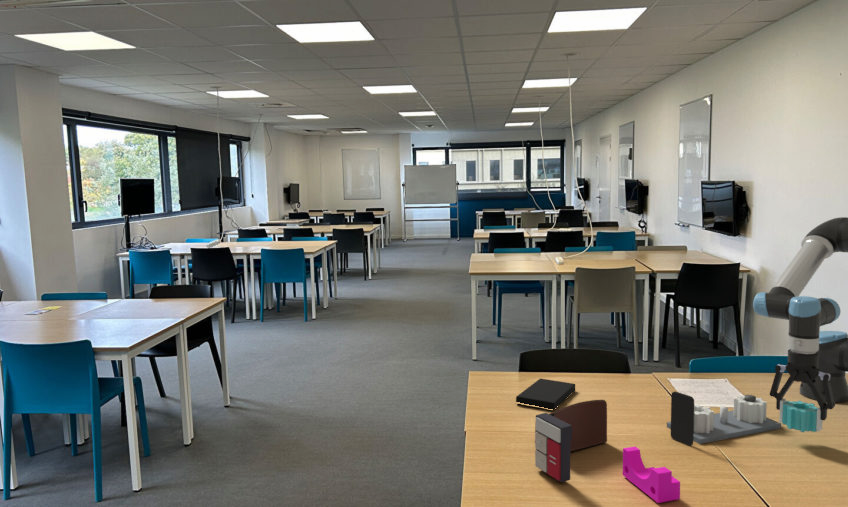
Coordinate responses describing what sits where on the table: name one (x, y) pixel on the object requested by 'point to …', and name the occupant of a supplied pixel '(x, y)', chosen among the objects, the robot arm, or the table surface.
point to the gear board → (731, 420)
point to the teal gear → (800, 416)
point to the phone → (682, 418)
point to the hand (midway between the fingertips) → (800, 425)
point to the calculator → (553, 446)
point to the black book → (546, 393)
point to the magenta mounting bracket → (650, 477)
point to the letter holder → (585, 423)
